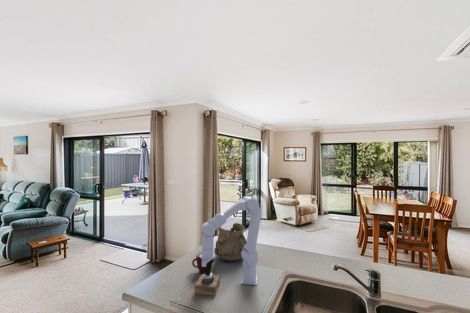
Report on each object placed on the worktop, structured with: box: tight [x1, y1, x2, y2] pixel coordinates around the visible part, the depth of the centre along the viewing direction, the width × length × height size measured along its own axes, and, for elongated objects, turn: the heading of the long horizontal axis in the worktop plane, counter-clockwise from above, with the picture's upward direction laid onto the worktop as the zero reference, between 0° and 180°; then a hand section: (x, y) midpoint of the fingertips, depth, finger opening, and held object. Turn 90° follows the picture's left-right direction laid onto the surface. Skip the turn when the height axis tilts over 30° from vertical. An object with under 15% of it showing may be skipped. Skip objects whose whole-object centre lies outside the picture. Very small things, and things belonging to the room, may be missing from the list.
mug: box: [191, 251, 205, 275], centre depth 133 cm, size 10×8×10 cm
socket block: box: [194, 273, 221, 297], centre depth 116 cm, size 11×10×4 cm
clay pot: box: [213, 222, 247, 262], centre depth 153 cm, size 25×24×22 cm
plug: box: [203, 272, 214, 284], centre depth 116 cm, size 4×4×7 cm
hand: (207, 274), depth 116 cm, fingers closed, pressing on plug
